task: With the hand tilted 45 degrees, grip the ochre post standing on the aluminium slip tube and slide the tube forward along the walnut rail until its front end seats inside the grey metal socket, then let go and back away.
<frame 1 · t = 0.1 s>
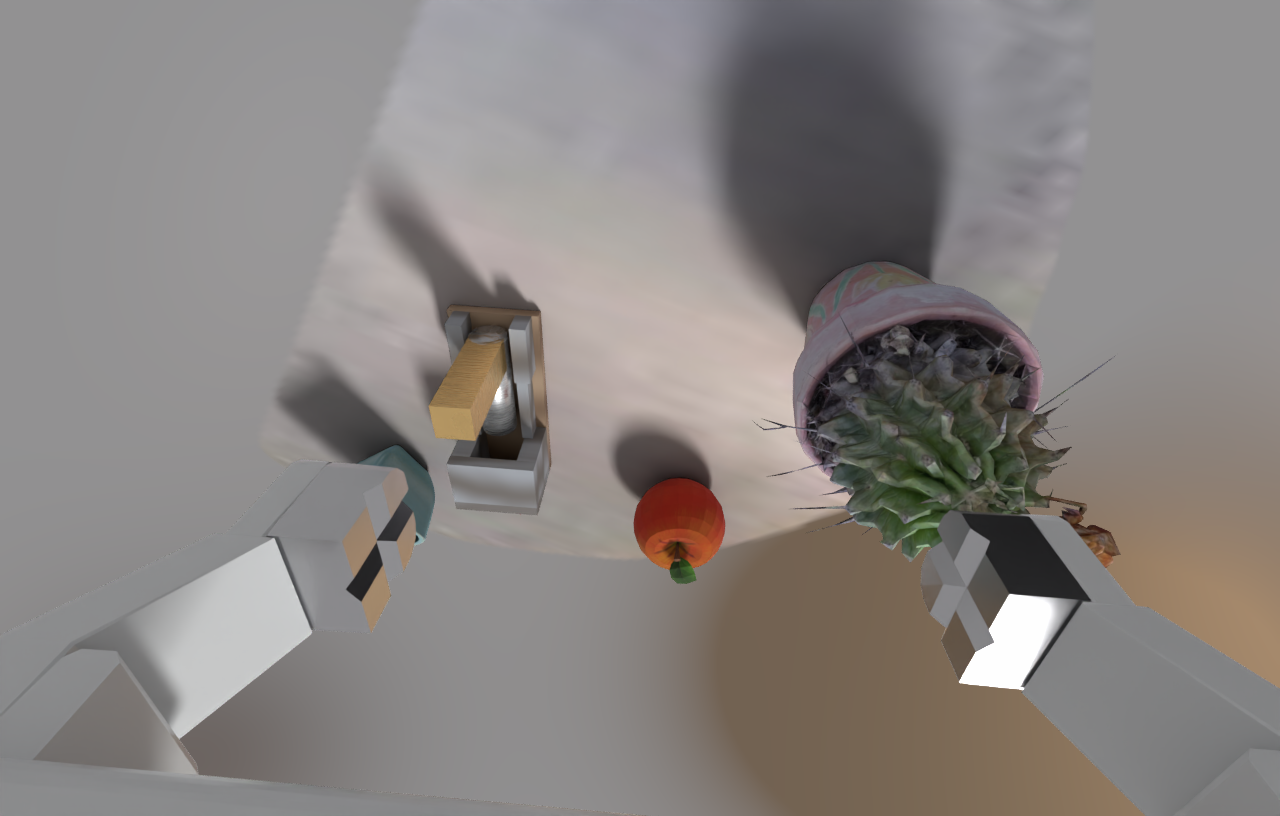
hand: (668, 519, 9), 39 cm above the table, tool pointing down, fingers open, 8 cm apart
slip tube: (481, 411, 49), point 7 cm above the table, slide at 0.0 cm
flower pot: (399, 464, 64), on the table
rail base: (505, 386, 56), on the table
potted plant: (854, 316, 50), on the table
fruit: (679, 492, 64), on the table
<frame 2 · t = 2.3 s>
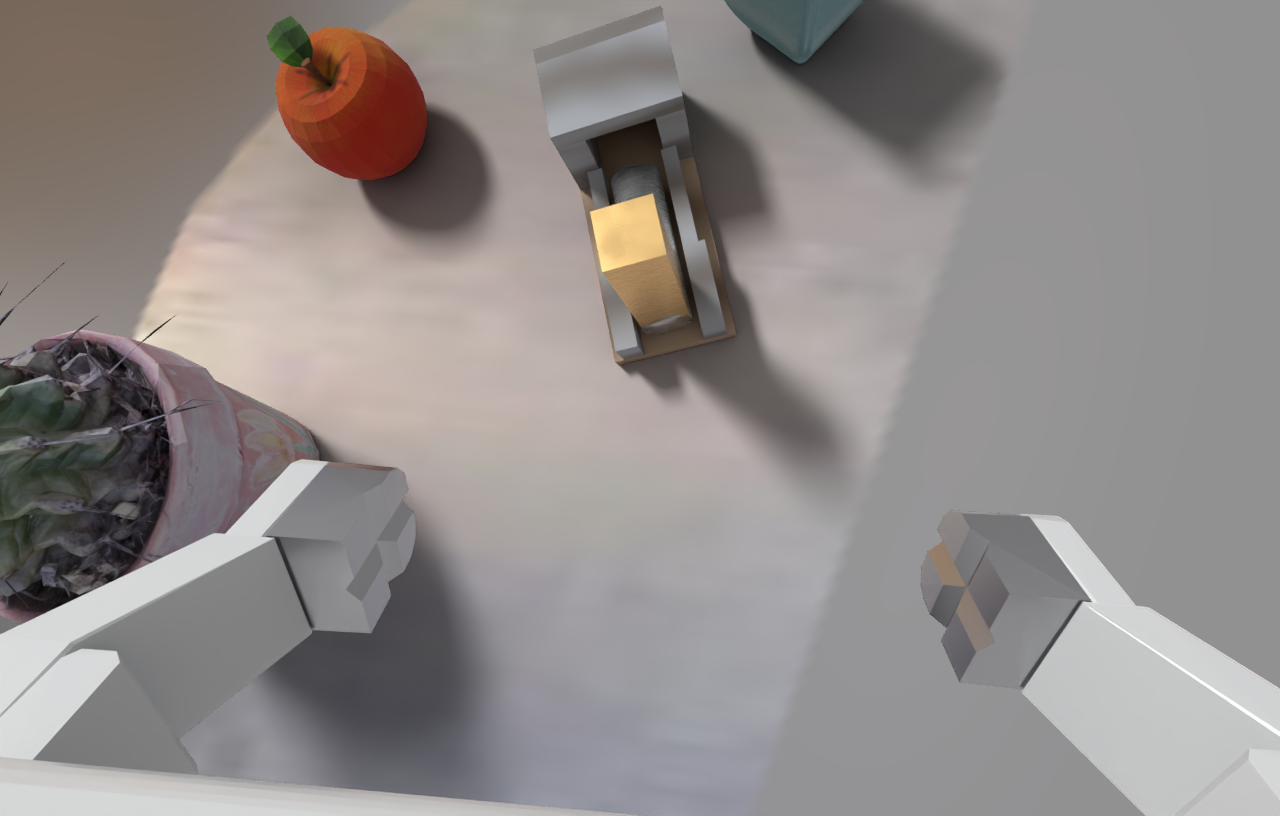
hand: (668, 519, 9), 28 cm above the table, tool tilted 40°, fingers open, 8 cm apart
slip tube: (637, 219, 33), point 7 cm above the table, slide at 0.0 cm
flower pot: (798, 24, 40), on the table
rail base: (650, 233, 40), on the table
potted plant: (276, 471, 43), on the table
fruit: (394, 144, 45), on the table
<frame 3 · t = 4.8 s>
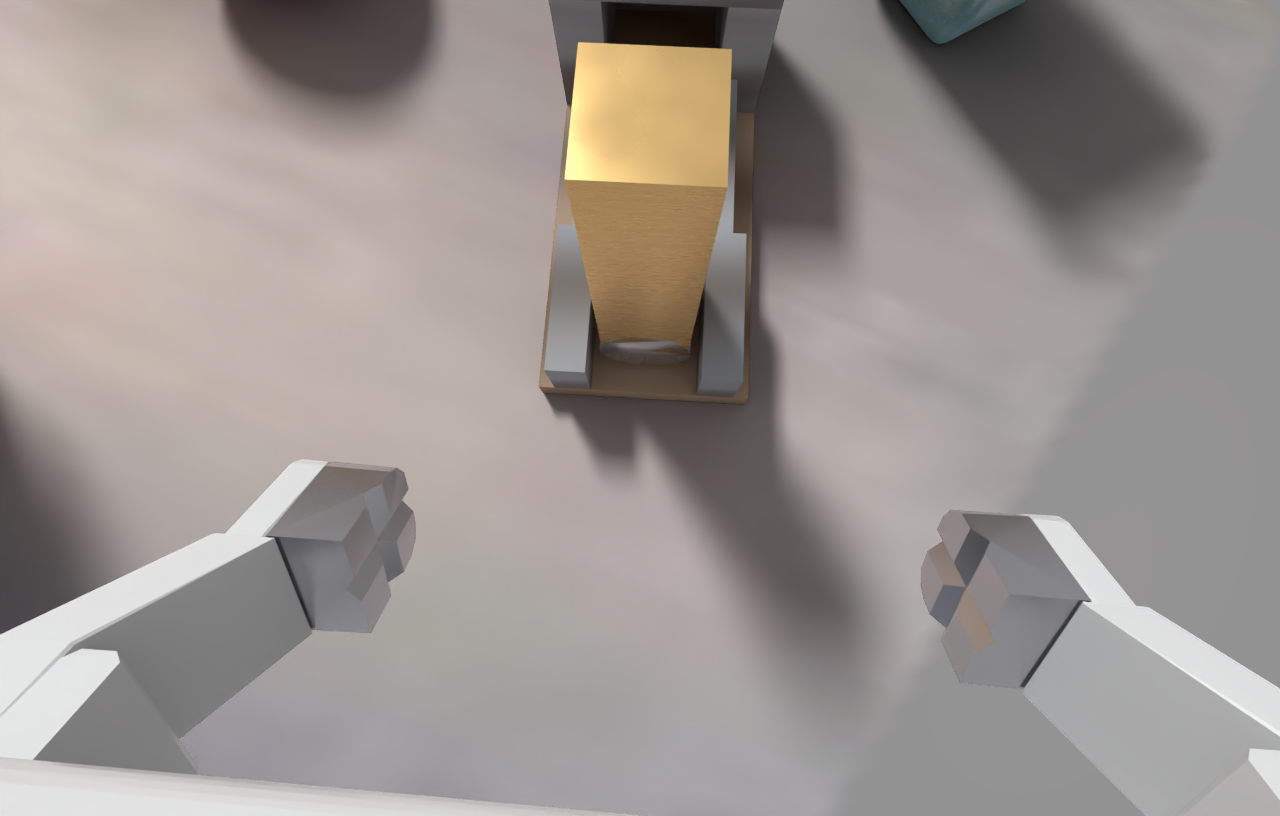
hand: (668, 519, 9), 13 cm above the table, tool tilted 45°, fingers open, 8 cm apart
slip tube: (654, 149, 17), point 7 cm above the table, slide at 0.0 cm
rail base: (654, 206, 25), on the table
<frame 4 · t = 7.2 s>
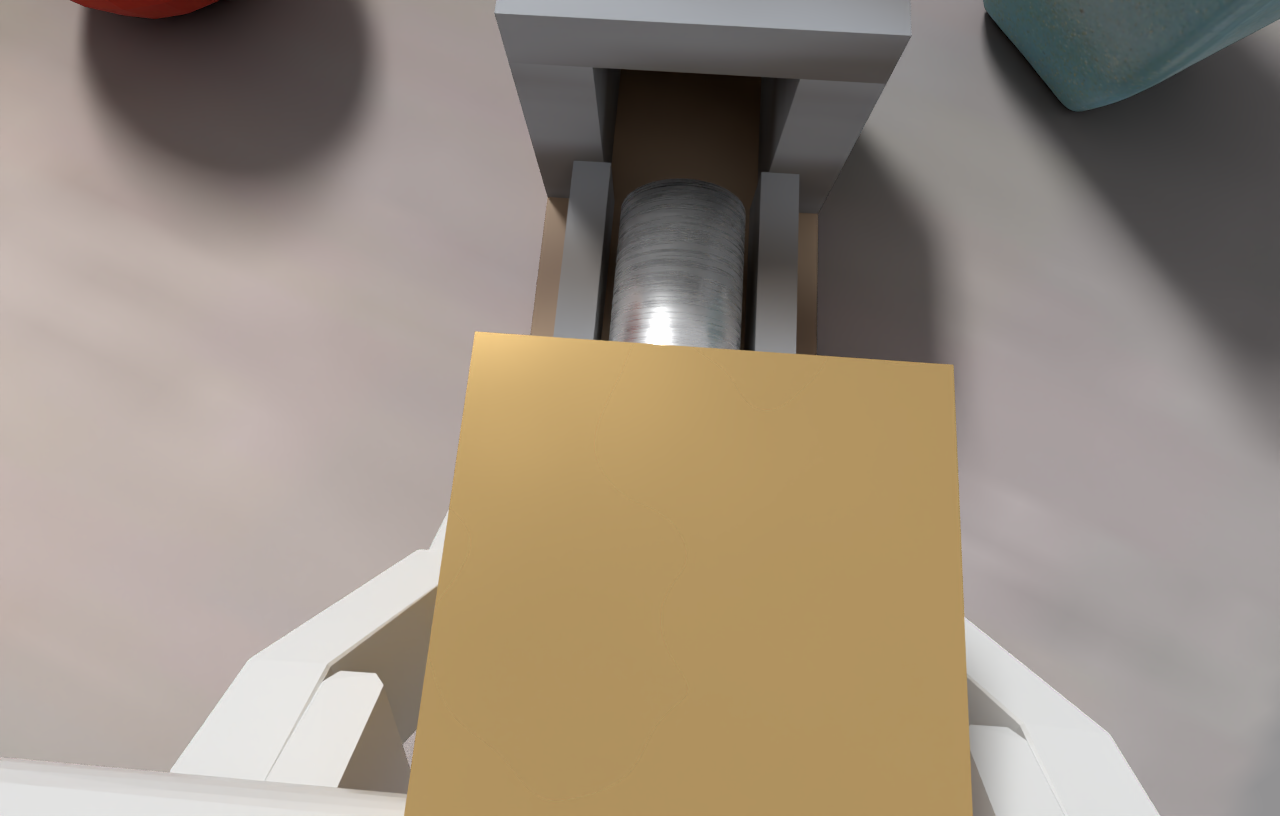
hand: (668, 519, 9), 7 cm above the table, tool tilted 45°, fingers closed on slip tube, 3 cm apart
slip tube: (679, 346, 10), point 7 cm above the table, slide at 0.0 cm, touching gripper
flower pot: (1075, 39, 20), on the table
rail base: (671, 344, 17), on the table
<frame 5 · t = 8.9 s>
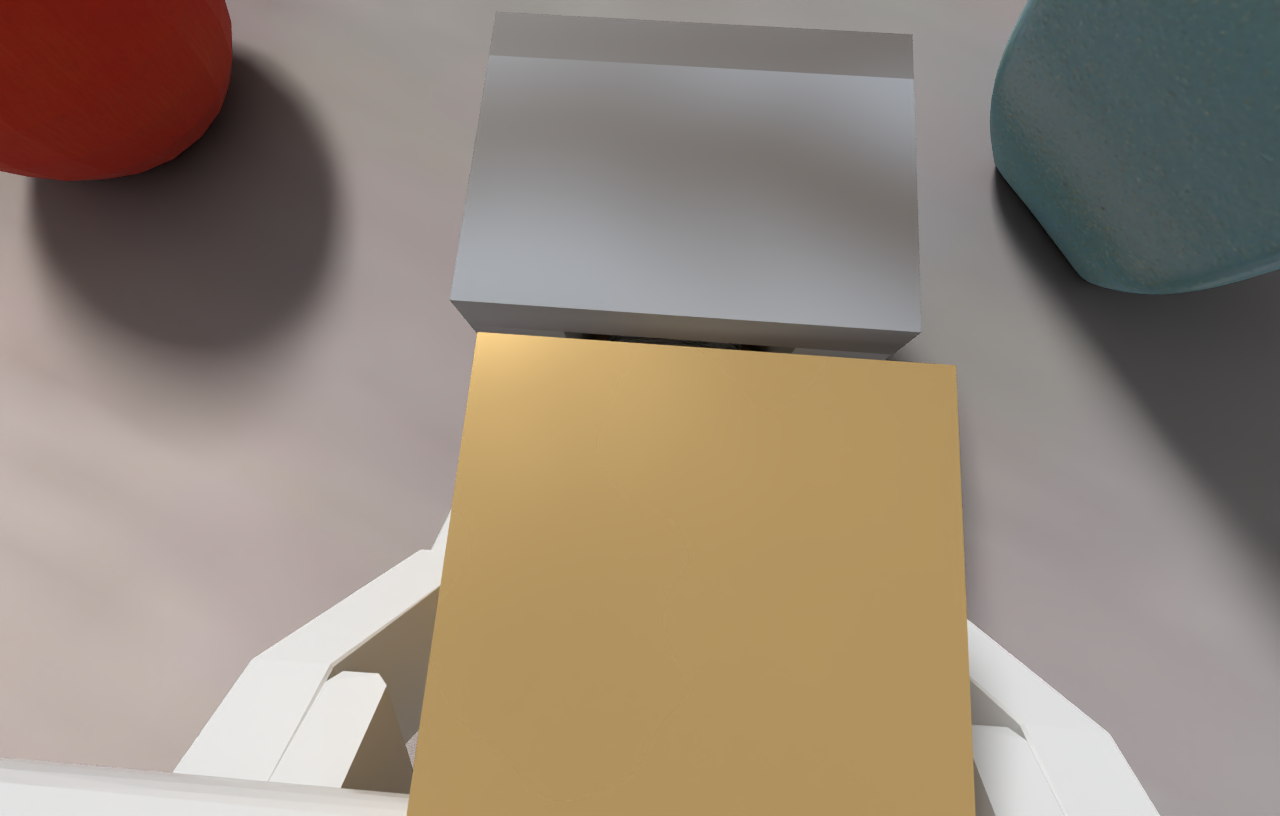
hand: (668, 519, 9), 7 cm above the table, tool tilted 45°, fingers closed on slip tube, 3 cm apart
slip tube: (680, 347, 10), point 7 cm above the table, slide at 6.0 cm, touching gripper
flower pot: (1092, 196, 19), on the table
rail base: (658, 550, 16), on the table
fruit: (151, 111, 20), on the table
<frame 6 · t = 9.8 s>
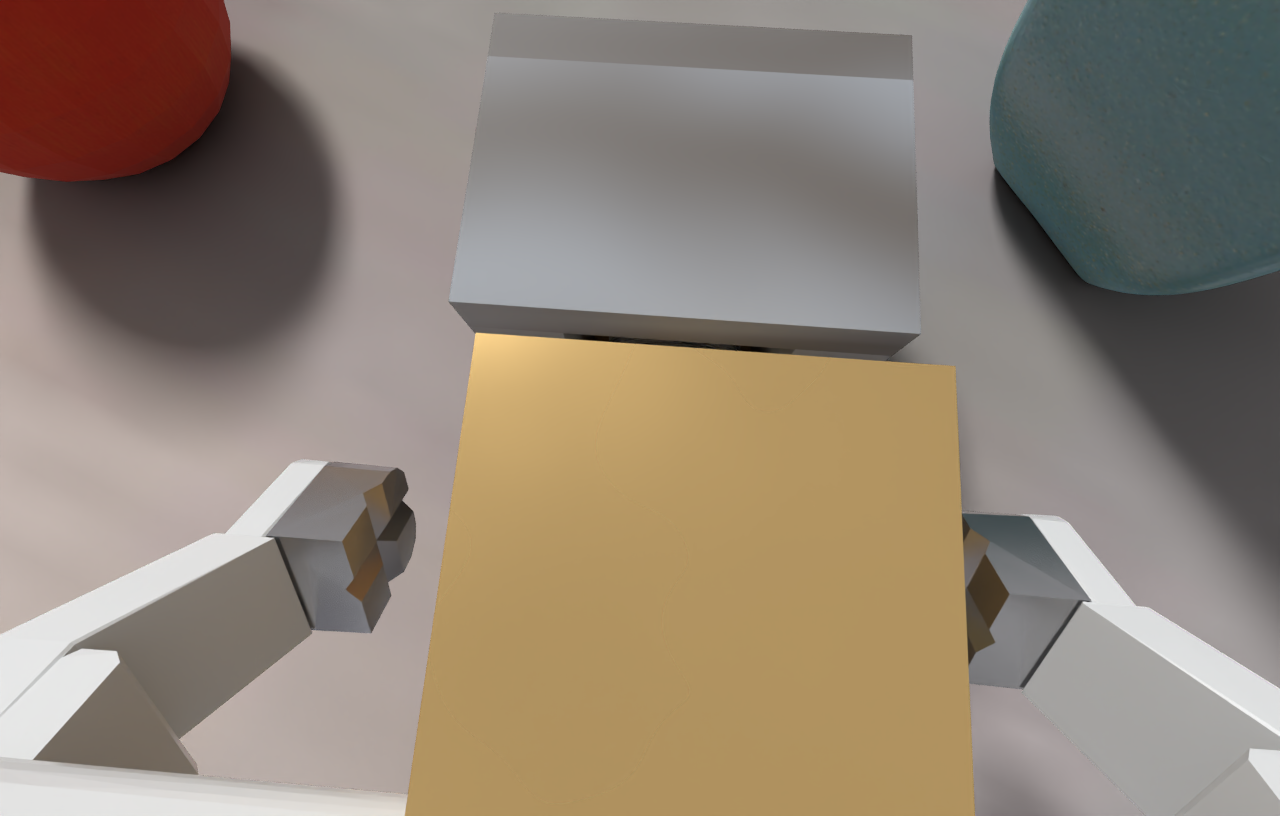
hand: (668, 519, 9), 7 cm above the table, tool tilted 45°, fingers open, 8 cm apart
slip tube: (680, 347, 10), point 7 cm above the table, slide at 6.0 cm
flower pot: (1092, 196, 19), on the table
rail base: (657, 551, 16), on the table
fruit: (150, 112, 20), on the table
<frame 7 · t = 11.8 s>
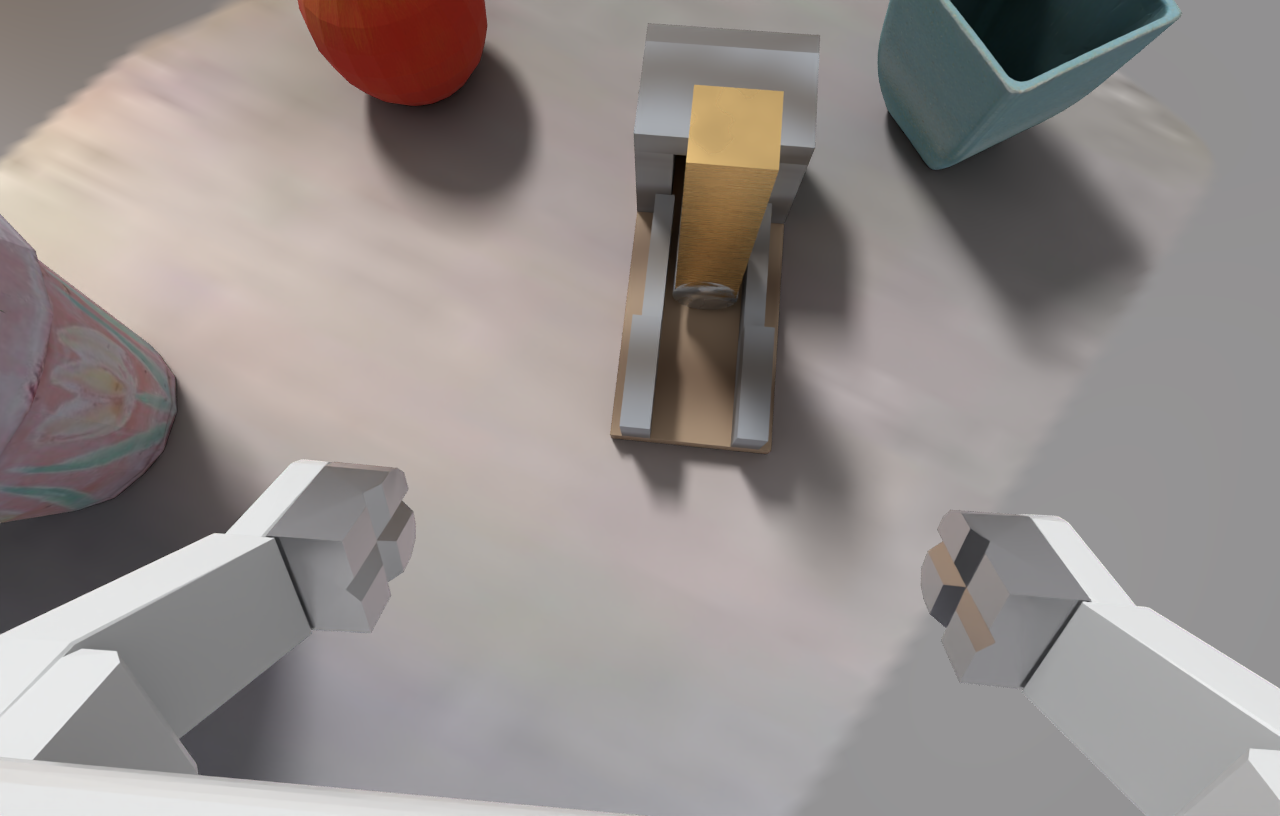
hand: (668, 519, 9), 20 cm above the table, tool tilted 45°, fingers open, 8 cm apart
slip tube: (722, 151, 26), point 7 cm above the table, slide at 6.0 cm
flower pot: (940, 126, 34), on the table
rail base: (702, 293, 32), on the table
potted plant: (107, 414, 31), on the table
fruit: (427, 73, 36), on the table
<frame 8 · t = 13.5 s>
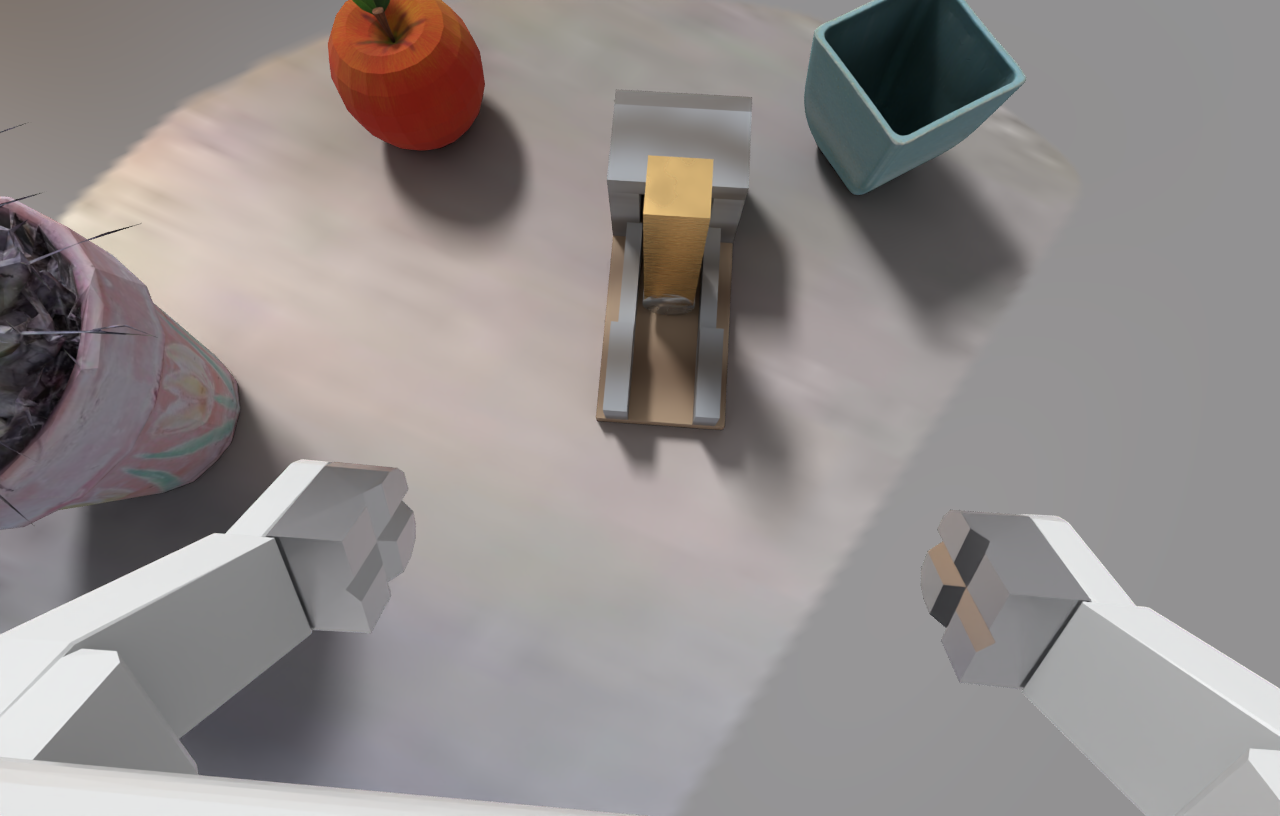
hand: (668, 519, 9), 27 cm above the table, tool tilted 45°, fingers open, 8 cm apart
slip tube: (676, 192, 33), point 7 cm above the table, slide at 6.0 cm
flower pot: (861, 157, 42), on the table
rail base: (668, 301, 39), on the table
potted plant: (182, 414, 38), on the table
fruit: (434, 120, 43), on the table
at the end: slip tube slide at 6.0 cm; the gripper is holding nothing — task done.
